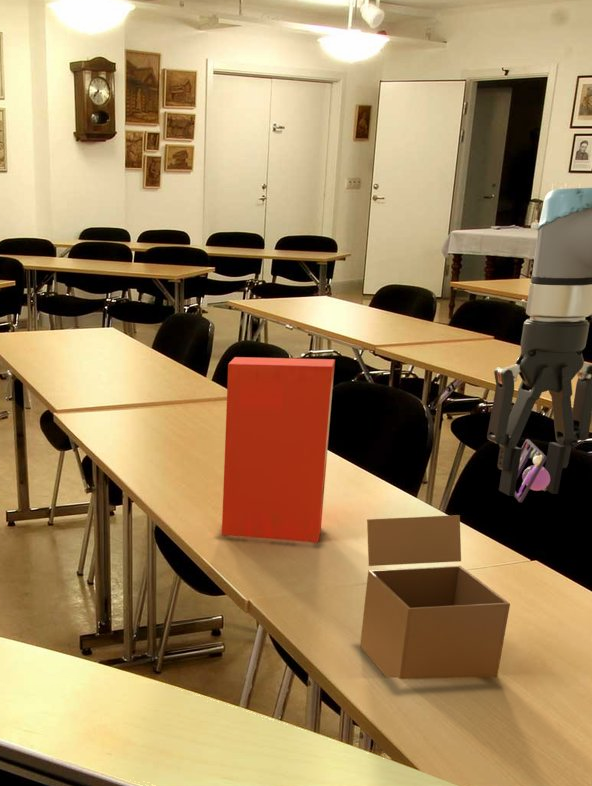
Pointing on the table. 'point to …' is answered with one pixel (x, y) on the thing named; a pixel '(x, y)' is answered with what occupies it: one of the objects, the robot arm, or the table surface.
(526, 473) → the purple product box
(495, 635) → the carton
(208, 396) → the table surface
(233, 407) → the red rectangular block
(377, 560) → the flap
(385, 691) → the table surface
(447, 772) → the table surface
